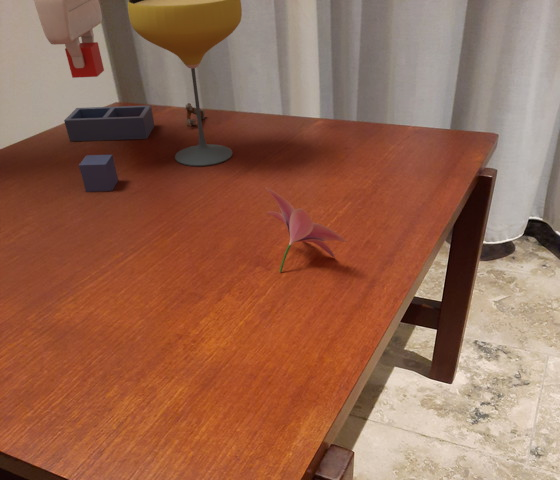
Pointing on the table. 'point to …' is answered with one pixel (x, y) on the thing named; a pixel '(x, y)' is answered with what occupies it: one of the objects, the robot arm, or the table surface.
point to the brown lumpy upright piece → (193, 110)
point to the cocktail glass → (188, 48)
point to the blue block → (98, 173)
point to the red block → (87, 61)
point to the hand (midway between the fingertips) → (85, 63)
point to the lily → (302, 226)
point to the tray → (110, 123)
